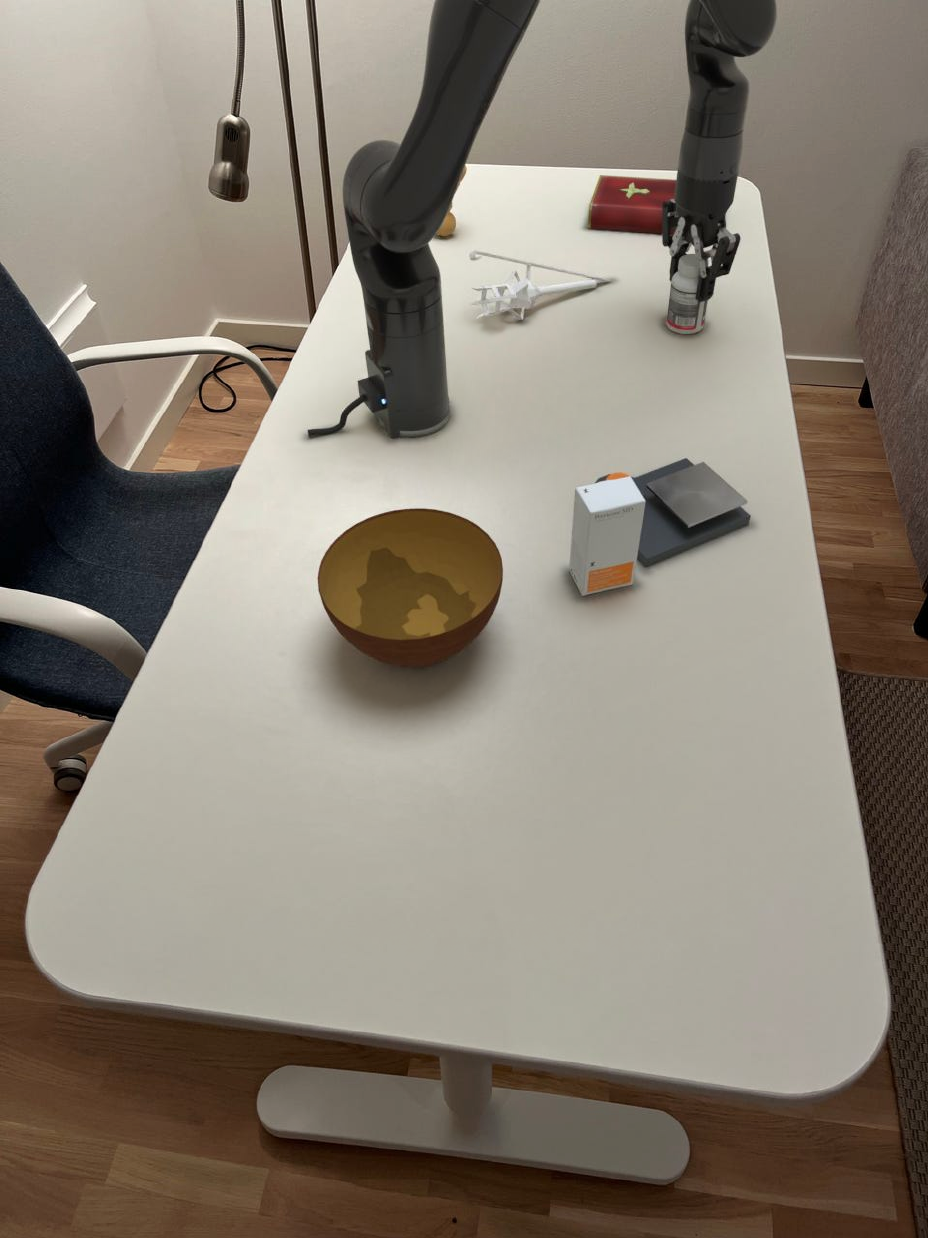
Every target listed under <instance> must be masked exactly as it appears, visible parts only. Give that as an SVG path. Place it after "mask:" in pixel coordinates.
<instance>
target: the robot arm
mask: <svg viewBox="0 0 928 1238" xmlns="http://www.w3.org/2000/svg"><path fill="white" fill-rule="evenodd" d="M688 1H689V2H688V3H687V8H686V12H685V18H684V44H685V45H684V46H685V57H686V67H687V76H688V82H689V84H688V85H689V96H688V101H687V102H688V103H687V108H686V117H685V124H684V125H685V126H684V130H683V135H682V139H681V142H680V148H679V155H678V164H677V172H676V179H675V180H676V187H675V195H674V199H671V200H667V201H664V202H663V204H662V234H661V236H662V237H661V238H662V239H661V240H662V243H661V244H662V245H663V247H665V248H666V247H668V249H669V251H668V252H669V255H670V258H671V259H670V265H669V281H670V282H671V281H672V277H673V275H674V274H675V273H676V272H678V264H679V259H680V258H681V257H682V256H684V255H687V254H688V252H689V251H690V249H691V247H692V246H693V247H694V254H695V257H696V259H697V260H699V266H700V275H699V279H698V285H697V292H696V300H697V301H699V302H703V301H706V300H708V301H709V300H710V299H711V298H713V296H714V292H715V287H716V282H717V281H716V280H717V278H720V277H722V276H727V275H729V274H730V272H731V270H732V266H733V264H734V262H735V261H734V260H735V258H736V255H737V251H738V248H739V245H740V243H741V235H740V233H738V232H737V233H734V234H733V233H732V232H730V231H729V230H728V229H727V221H726V220H727V219H726V213H727V212H728V211H729V209H730V208H731V206H732V205H733V203H734V200H735V194H736V189H737V181H738V176H739V172H740V171H739V170H740V164H741V159H742V153H743V145H744V128H745V123H746V118H747V112H748V106H749V99H750V90H751V84H750V81H749V78H748V77H747V75H746V74H745V73H744V72H743V71H742V70H741V69H740V68H739V66H738V65H737V62H736V58H748V57H751V56H753V55H756V54H757V53H758V52H760V51H761V50H763V49H764V48H765V46H767V44H768V43H769V42H770V40H771V38H772V36H773V34H774V31H775V28H776V24H777V19H778V6H777V5H778V4H777V0H688ZM540 2H541V0H434V2H433V6H432V10H431V16H430V21H429V27H428V34H427V44H426V51H425V64H424V71H423V79H422V84H421V85H422V86H421V90H420V94H419V99H418V102H417V105H416V108H415V110H414V113H413V116H412V118H411V120H410V123H409V125H408V127H407V129H406V132H405V133H404V136H403V138H402V140H401V143H398V142H396V141H393V140H388V139H377V140H373V141H370V142H367V143H365V144H364V145H362V146H361V147H359V149H358V150H357V151H355V153H353V154H352V156H351V158H350V159H349V162H348V163H347V166H346V168H345V171H344V174H343V180H342V203H343V210H344V211H343V212H344V217H345V223H346V224H345V225H346V230H347V235H348V242H349V247H350V253H351V258H352V262H353V267H354V271H355V273H356V275H357V278H358V281H359V283H360V287H361V291H362V299H363V306H364V314H365V321H366V322H365V323H366V329H367V338H368V346H369V349H368V350H367V349H366V351H364V356H365V362H366V364H365V365H366V371H367V377H366V378H361V379H359V380H357V381H356V382H357V387H358V394H359V396H358V397H357V398H356V399H355V400H353V401H352V402H351V403H349V404H348V405H347V406H346V407H345V408H344V409H343V411H342V412H341V414H340V418H339V422H338V423H337V424H335V425H334V426H331V427H325V428H311V429H307V435H308V437H314V436H328V435H332V434H335V433H338V432H340V431H342V430H343V429H344V427H345V426H346V424H347V420H348V416H349V415H350V414H351V412H353V411H354V410H355V409H356V408H358V407H359V406H361V405H362V404H363V403H364V405H365V406H366V407H367V409H368V410H369V412H371V414H372V415H373V416H374V418H375V419H376V420H377V422H378V423H379V425H380V426H381V427H382V428H383V429H384V431H385V432H386V434H388V436H389V437H390V438H391V439H396V438H398V437H407V438H408V437H409V438H414V437H424V436H427V435H430V434H433V433H436V432H437V431H439V430H440V429H442V428H443V427H444V426H445V425H446V424H448V422H449V419H450V417H451V407H450V397H449V386H448V371H447V359H446V358H447V356H446V341H445V327H444V326H445V325H444V323H445V322H444V308H443V294H442V293H443V292H442V291H443V290H442V276H441V271H440V268H439V265H438V263H437V261H436V258H435V256H434V255H433V252H432V249H431V247H430V244H429V243H430V242H431V241H432V240H433V239H434V238H435V237H436V235H438V234H437V232H438V231H439V229H440V227H441V226H442V224H443V222H444V220H445V218H446V215H447V213H448V211H449V208H450V206H451V203H452V204H453V200H454V198H455V194H456V193H457V191H456V189H457V186H458V184H459V181H460V178H461V175H462V173H463V170H464V167H465V166H466V164H467V161H468V159H469V156H470V153H471V151H472V148H473V145H474V143H475V141H476V138H477V135H478V133H479V131H480V129H481V126H482V124H483V122H484V120H485V118H486V115H487V113H488V112H489V109H490V107H491V106H492V103H493V101H494V98H495V96H496V94H497V93H498V90H499V87H500V85H501V84H502V81H503V79H504V77H505V74H506V72H507V70H508V68H509V66H510V63H511V61H512V60H513V57H514V55H515V53H516V51H517V49H518V48H519V46H520V44H521V42H522V40H523V38H524V36H525V34H526V32H527V30H528V28H529V25H530V24H531V21H532V19H533V17H534V15H535V13H536V11H537V9H538V7H539V5H540ZM457 190H458V189H457ZM455 192H456V193H455ZM672 227H674V235H670V229H671V228H672ZM709 247H711V249H707V248H709ZM704 249H707V250H706V251H705V250H704ZM709 259H710V261H711V265H709V264H708V261H709Z"/></svg>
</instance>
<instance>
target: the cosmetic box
mask: <svg viewBox="0 0 928 1238" xmlns="http://www.w3.org/2000/svg"><path fill="white" fill-rule="evenodd" d="M630 476H631V475H629V477H624V478H620V479H615V480H606V481H601V482H598V483H595V482H594V483H595V484H594V483H591V484H587V485H582V486H577V487H575V488H574V500H573V501H574V502H573V512H572V513H573V514H572V526H571V538H570V539H571V541H570V555H569V568H568V571H569V573H570V575H571V577H572V579H573V581H574V583H575V585H576V586H577V589H578V591H579V593H580V595H581V596H582V597H584V596H589V595H592V594H597V593H601V592H605V591H610V590H613V589H614V590H615V589H618V588H623V587H629V586H632V585H634V580H635V573H636V567H637V561H638V559H637V555H638V548H639V541H640V535H641V529H642V522H643V515H644V509H645V502H646V501H645V499H644V498H643V496H642V494H641V493H640V491H639V489H638V488H637V486H636V484H635V483H634V481H633V479H632V478H631V477H632V476H631V477H630Z"/></svg>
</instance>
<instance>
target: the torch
mask: <svg viewBox="0 0 928 1238" xmlns="http://www.w3.org/2000/svg"><path fill="white" fill-rule="evenodd" d="M476 255H479V256H477V257H476ZM482 256H484V257H488V258H493V259H498V260H503V261H508V262H512V263H517V264H522V265H526V272H525V278H523V279H520V276H519V273H518V271H517V270H514V271H511V273H510V275H509V276H508V278H507V279H506V281H505V282H504V284H494V285H487V286H483V285H482V286H481V285H480V287H479V288H478V287H471V289H473V290H474V291H476V292H481V297H480V300H476V301H473V302H471V303H468V305H469V306H480V305H481V306H482V308H483V311H484V313H483V312H482V313H480V314H479V315H478V316H477V317H476V318H475V319H476V320H477V319H480V318H482V317H484V318H485V317H488V316H493V315H498V314H501V313H504V312H508V313H511V315H512V316H513V317H514V318H515V319H517V320H518V321H522V320H524V315H525V309H532V307H533V306H534V305H535V303H536V302H537V300H538V299H539V297H545V296H551V295H557V294H558V295H559V294H563V293H564V294H565V293H570V292H577V291H582V290H583V291H584V290H588V289H595V288H596V287H597V285H598V281H601V282H612V280H611V279H609V278H605V277H601V276H596V275H592V274H588V273H582V272H578V271H573V270H568V269H564V268H559V267H554V266H551V265H546V264H540V263H537V262H531V261H526V260H523V259H517V258H512V257H508V256H503V255H499V254H493V253H490V252H485V251H480V250H477V249H476V250H473V251H470V252H469V260H470V261H473V262H475V261H478V260H481V259H482V258H483V257H482ZM532 267H535V268H539V269H545V270H549V271H555V272H559V273H564V274H568V275H573V276H577V277H582V278H587V279H585V280H583V279H582V280H578V281H572V282H565V283H559V284H558V283H557V284H553V285H547V286H546V285H545V286H539V287H538V286H537V285H535V283H533V282H532V281H531V271H532ZM514 277H515V280H517V282H515V283H513V284H510V283H511V281H512V279H513V278H514ZM488 290H491V291H492V293H493V295H494V297H490V298H487V294H488V293H487V292H488ZM505 291H508V293H509V294H506V295H504V293H505ZM506 300H510V303H509V306H508V305H507V304H506V303H505V301H506ZM493 303H495V307H494V311H491V310H490V308H489V306H488V304H493ZM516 308H517V309H521V311H520V315H519V314H518V313H517V312H516V311H515V310H514V309H516Z"/></svg>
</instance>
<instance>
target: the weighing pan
mask: <svg viewBox="0 0 928 1238" xmlns="http://www.w3.org/2000/svg"><path fill="white" fill-rule="evenodd" d="M646 487H647V488H648V489H649V490H650V491H651V492H652V493H653V494H654V495H655V496H656V497H657V498H658V499H659V500H660V501H661V502H662V503H663V504H664V505H665V506H666V507H667V508H668V509H669V510H670V511H671V512H672V513H673V514H675V515H676V516H677V517H678V518H679V519H680V520H681V521H682V522H683V523H684V524H685V525H686V526H687V527H688V528H689V527H691V526H694V525H696V524H698V523H701V522H703V521H706V520H708V519H711V518H713V517H716V516H718V515H720V514H723V513H725V512H728V511H730V510H733V509H735V508H737V507H740V506H741V507H742V506H744V505H747V504H748V503H749V502H748V500H747V499H746V498H745V497H744V496H743V495H742V494H741V493H740V492H738V491H737V490H736V489H735V488H734V487H732V486H731V485H730V484H729V482H727V481H726V480H725V479H724V478H723V477H722V476H720V475H719V474H718V473H717V472H716V471H715V470H714V469H712V467H710V466H709V465H708V464H707V463H706V462H704V461H702V462H698V463H696V464H694V466H691V467H689V468H686V469H683V470H681V471H678V472H676V473H673V474H671V475H668V476H665V477H663V478H660V479H658V480H655V481H653V482H650V483H647V484H646Z"/></svg>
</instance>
